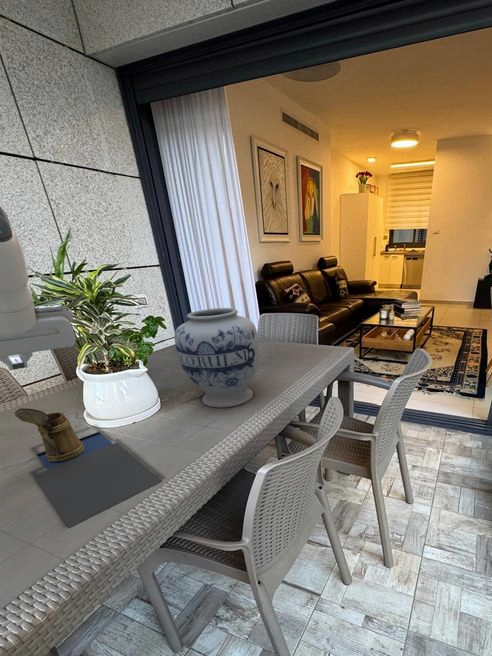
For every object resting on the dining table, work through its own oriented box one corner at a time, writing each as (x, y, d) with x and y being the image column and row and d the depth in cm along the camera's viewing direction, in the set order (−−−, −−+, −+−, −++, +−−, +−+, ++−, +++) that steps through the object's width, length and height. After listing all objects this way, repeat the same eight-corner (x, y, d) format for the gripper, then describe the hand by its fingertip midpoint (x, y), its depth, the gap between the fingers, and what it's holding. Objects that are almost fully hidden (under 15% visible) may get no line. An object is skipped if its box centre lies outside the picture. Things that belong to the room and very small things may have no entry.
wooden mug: (32, 475, 88) (-3, 411, 79) (55, 447, 100) (28, 388, 91) (71, 469, 90) (41, 406, 81) (89, 442, 101) (65, 384, 93)
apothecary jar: (172, 406, 121) (148, 317, 107) (222, 379, 142) (207, 302, 128) (235, 419, 111) (218, 323, 96) (278, 388, 132) (270, 305, 117)
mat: (48, 469, 90) (47, 469, 90) (34, 451, 99) (34, 450, 99) (113, 444, 100) (112, 443, 100) (95, 429, 109) (95, 428, 109)
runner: (68, 528, 72) (68, 527, 72) (34, 475, 88) (33, 474, 88) (162, 481, 84) (162, 480, 84) (116, 442, 101) (116, 442, 101)
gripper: (64, 293, 68) (70, 346, 78) (-88, 303, 54) (-58, 366, 64) (78, 315, 66) (83, 366, 76) (-75, 330, 53) (-46, 391, 62)
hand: (17, 366), depth 70 cm, fingers closed
